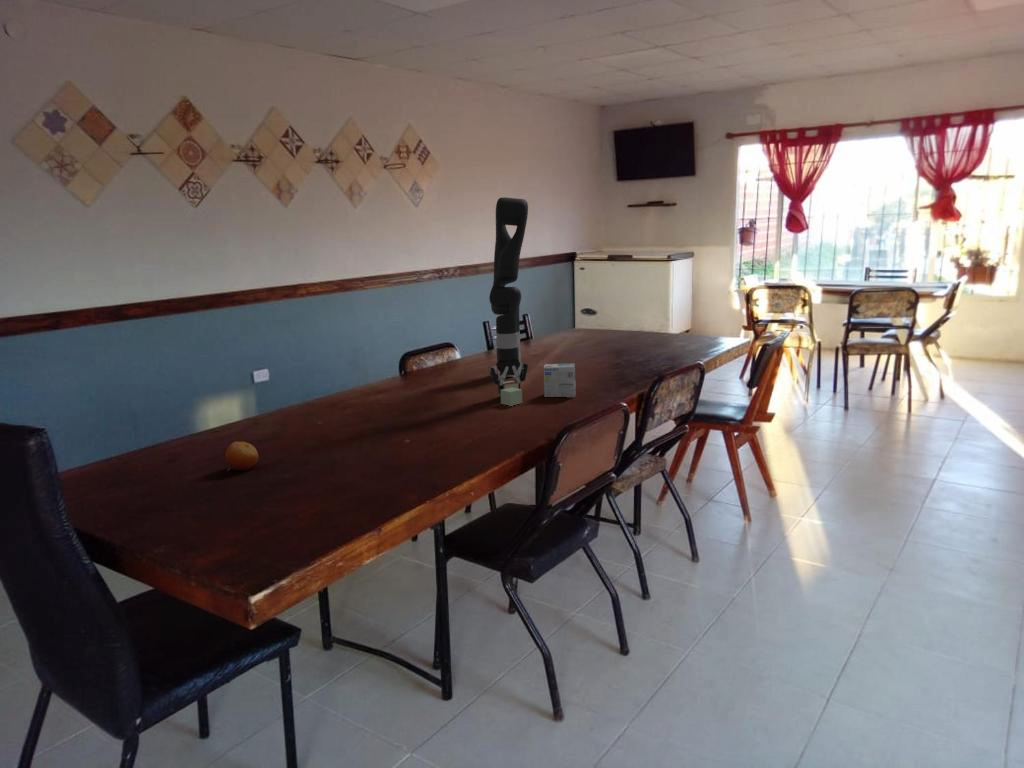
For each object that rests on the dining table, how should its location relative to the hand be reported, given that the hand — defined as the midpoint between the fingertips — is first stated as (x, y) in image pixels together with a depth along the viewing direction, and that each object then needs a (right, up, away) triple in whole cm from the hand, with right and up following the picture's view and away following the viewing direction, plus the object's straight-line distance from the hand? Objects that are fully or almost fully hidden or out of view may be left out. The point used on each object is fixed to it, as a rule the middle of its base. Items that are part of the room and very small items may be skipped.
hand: (509, 394), depth 256 cm
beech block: (0, -1, 0) cm, 1 cm away
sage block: (+1, -3, -10) cm, 10 cm away
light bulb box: (+17, -1, -1) cm, 17 cm away
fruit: (-68, -18, -67) cm, 97 cm away
